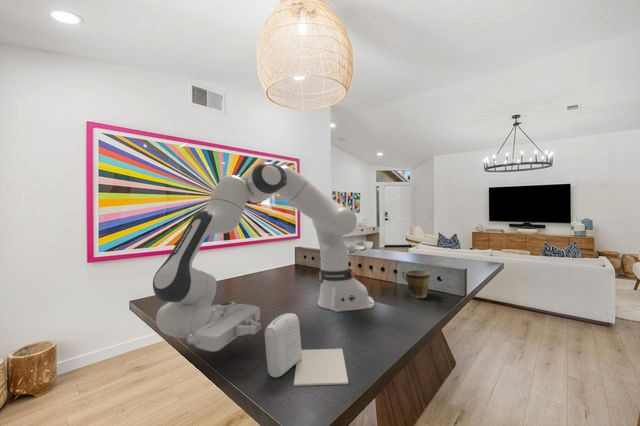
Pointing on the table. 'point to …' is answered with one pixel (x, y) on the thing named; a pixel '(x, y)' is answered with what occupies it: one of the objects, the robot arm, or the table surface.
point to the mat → (321, 368)
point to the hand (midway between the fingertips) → (258, 328)
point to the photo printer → (282, 344)
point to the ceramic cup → (417, 282)
